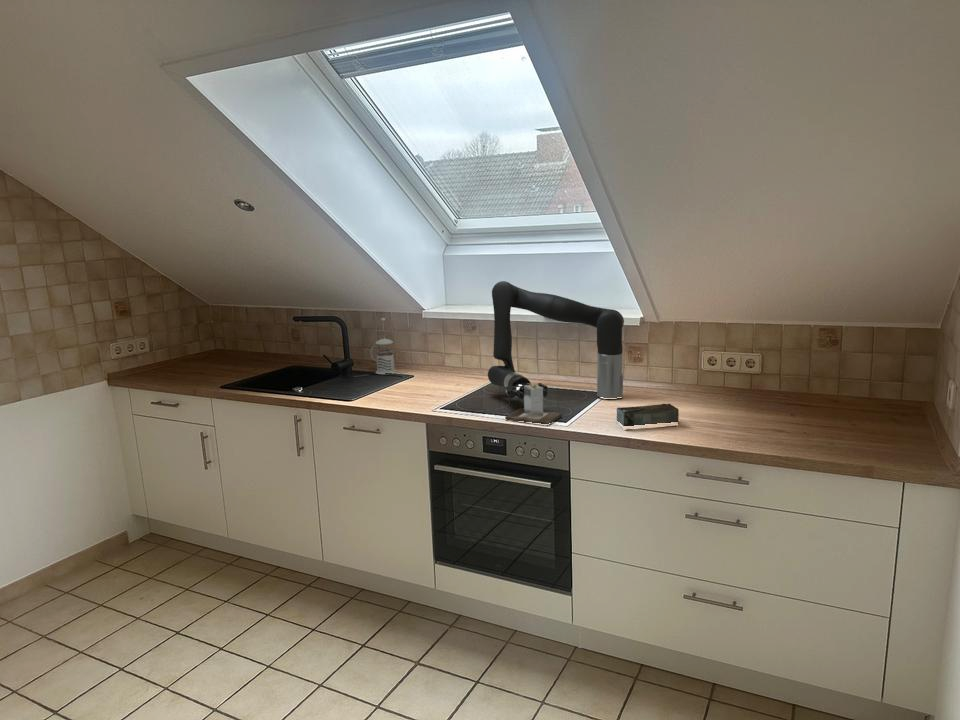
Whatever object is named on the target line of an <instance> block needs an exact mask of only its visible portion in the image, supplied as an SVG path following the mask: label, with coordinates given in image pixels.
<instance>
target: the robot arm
mask: <svg viewBox="0 0 960 720" xmlns="http://www.w3.org/2000/svg"><path fill="white" fill-rule="evenodd" d="M491 297H492V298H491V299H492V304H493V318H494V321H493V322H494V328H493V329H494V333H493V358H494V359H496V360H499V361H502V362H503V364H504V365H493V366H491V367H490V368H489V369H488V371H487V379H488V381H489V382H490V383H491V384H493V385H494V386H497V387H502V388H503V389H505V394H506V396H507V397H509V398H511V399H512V398H513V397H514V398H518V399H520V400H524V385H532V384H533V383H531V381H530V379H528V378H527V377H525V376H523V375H522V374H520V373H517V372H516V370H515V365H514V362H513V356H512V355H513V354H512V353H513V351H512V350H513V339H512V337H513V336H512V335H513V334H512V327H511V311H512V308H515V309H520V310H521V309H522V310H525V311H529V312H531V313H533V314H535V315H539V316H541V317H544V318H545V319H546V318H547V319H549V320H553V321H557V322H561V323H562V322H563V323H569V324H583V325H587V326H591V327H594V328H596V347H597V365H596V366H597V370H596V371H597V374H596V375H597V377H596V378H597V379H596V388H597V389H596V397H597V396H599V397H604V398H617V397H624V373H623V350H624V349H623V347H624V346H623V326H624V324H625V319H624V316H623V315H622V313H621V312H619V311H618V310H616V309H613V308H612V309H610V308H604V307H597V306H592V305H590V304H585V303H584V302H579V301H577V300H574V299H571V298H568V297H564V296H560V295H556V294H553V293H552V294H550V293H545V292H544V293H543V292H534V291H529V290H526V289H524V288H520V287H518V286H516V285H514V284H512V283H510V282H509V281H506V280H505V281H504V280H502V281H499V282H497V283H495V284H494V286H493V287H492V290H491ZM537 385H538V386H540V387H542V388H543V398H544V397H546V398H547V396H548V393H549V391H548V388H549V387H548V385H545V384H543V383H541V382H538V383H537Z"/></svg>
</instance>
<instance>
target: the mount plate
mask: <svg viewBox="0 0 960 720" xmlns="http://www.w3.org/2000/svg"><path fill="white" fill-rule="evenodd" d="M562 415H563V414H562V413H561V412H555V411H554V412H553V411H546V410H543V416H542V417H534V418H530V417H529V416H528V415H526V414H525V413H524V408H522V407H520V408H518V409H516V410H514V411H512V412H511V413H510V414H508V415H506V416H505V418H504V419H507V420H513V421H512V422H514V421H524V422H532V423H541V424H549V423H552V422H553V421H555V420H556V421H558V420H559V419H560V418H562V417H561V416H562ZM558 418H559V419H558ZM557 419H558V420H557ZM507 420H506V421H507ZM556 421H555V422H556ZM553 423H554V422H553ZM553 423H552V424H553Z"/></svg>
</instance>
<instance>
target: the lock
mask: <svg viewBox="0 0 960 720" xmlns="http://www.w3.org/2000/svg"><path fill="white" fill-rule="evenodd" d="M531 384H532V385H524V399H523V407H524V413H525V414H526V415H528V416H529V417H530V418H534V417H542V416H543V411H544V396H543V388H542V387H540V386H538V383H534V384H533V383H531Z"/></svg>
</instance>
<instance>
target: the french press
mask: <svg viewBox="0 0 960 720" xmlns="http://www.w3.org/2000/svg"><path fill="white" fill-rule="evenodd" d="M380 321H381V322H382V327H383V330H385V327H384V326H385V325H384V324H385V323H384V321H386V318H385V317H382V318H381V319H380ZM393 343H394V341H393V340H391V339H388V338H386V337H383V338H381V339H378V340H376V341H375V345H373V346H372V347H371V348H370V350H369V351H370V353H369V354H371V355H370V358H371V359H372V360H373V361H375V362H376V371H375V374H378V375H386V374H385V373H390V372H394V371H397V370H396V369H395V358H394V355H395V354H394V353H393V352H394V350H393V349H386V346H387V345H388V346H389V345H393ZM379 345H381V346H383V347H384V349H379V350H377V351H376V353H377V355H376V358H375V357H374V355H373V353H372V351H373V349H374V348H375V349H378V346H379Z"/></svg>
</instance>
